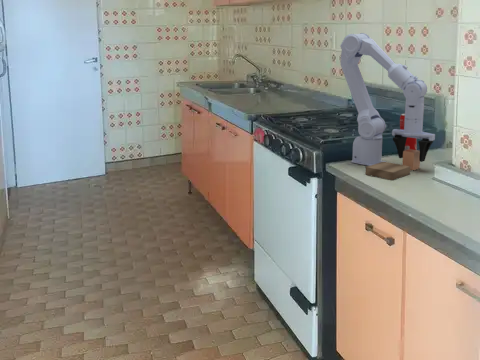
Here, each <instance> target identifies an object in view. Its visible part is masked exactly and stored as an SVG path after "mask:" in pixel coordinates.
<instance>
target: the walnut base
mask: <svg viewBox="0 0 480 360" xmlns="http://www.w3.org/2000/svg"><path fill="white" fill-rule="evenodd" d="M410 168H411V167H410V166H405V165H402V164H398V163H394V162H388V161H386V162H380V163H377V164H374V165H370V166H367V165H366V166H365V172H364V173H365V174H366V176H370V175H372V176H371V177H375V176H377V177H376V178H379V177H381V178H380V179H384V178H385V180H390V181H394V179H395V180H397V178H398V179H400V178H402V177H406V176H408V175H411V170H410Z"/></svg>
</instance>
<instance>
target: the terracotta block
mask: <svg viewBox="0 0 480 360" xmlns="http://www.w3.org/2000/svg"><path fill="white" fill-rule="evenodd" d="M419 156H420V150H419V149H418V150H412V149H408V150H405V151H403V158H402V163H401V165H405V166H410V167H411V168H410V171H412V170H414V171H416V169H417V170H419V169H421V167H420V165H421V162H420V161H419ZM418 168H419V169H418Z"/></svg>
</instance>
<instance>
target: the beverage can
mask: <svg viewBox="0 0 480 360" xmlns="http://www.w3.org/2000/svg"><path fill="white" fill-rule="evenodd" d="M404 123H405V112H404V113H400V117H399V129H401V130H404ZM417 140H418V138H410V137H407V140H406V144H405V150H408V149H412V150H417V149H418V146H417V145H418V144H417V142H418V141H417Z"/></svg>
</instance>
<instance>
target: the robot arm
mask: <svg viewBox="0 0 480 360" xmlns="http://www.w3.org/2000/svg"><path fill="white" fill-rule="evenodd" d="M376 42H377V41H375V40H374V39H373V38H372V37H370V36H369V34H367V33H364V32H361V33H349V34H347V35H346V36H345V37H344V38H343V40H342V42H341V44H340V45H339V46H340V49H341V53H340V62H339V63H340V68H341V70H342V72H343V75H344V78H345V82H346V83H347V86H348V90H349V91H350V95H351V97H352V100H353V102H354V106H355V108H356V111H357V113H358V115H357V118H356V121H357V125H358V126H357V130H358V134H359V136H356V137H355V138H354V140H353V143H352V158H351V159H352V160H351V161H350V162H351V163H352V164H359V165H362V166H366V167H367V166H370V165H374V164H377V163H380V162H387V161H386V160H382V152H383V133H384V132H385V130H386V128H387V127H386V125H387V124H386V122H385V119H384V118H382V117H381V115H380V113H379V111H378V110H377V109H376V108H375V107H374V105H373V102H372V99H371V96H370V95H369V92H368V89H367V86H366V84H365V83H366V82H365V81H364V78H363V76H362V72H361V70H360V67H359V63H360V61H361V58H362V57H363V56H370V57H371V58H372V59H373V60H374V61H375V62H376V63H378V64H379V65H380V66H381V67H383V69H385V70H386V72H387V76H388V79H390V80H391V81H392V82H393V83H394V84H395V85H396V86H397V87H398V88H399V89H400V90H402V94H403V96H404V98H405V106H404V108H405V109H404V113H405V123H404V130H401V129H400V128H394V129H392V131H391V136H393V137H392V141H393V143H394V145H395V147H396V150H397V154H398V158H399V159H403V151H405V144H406V140H407V137H410V138H417V140H418V139H419V140H418V141H417V142H418V146H419V147H418V148H419V149H418V150H419V151H420V156H419V161H420V163H423V162H425V161H426V157H427V154H428V152H429V150H430V148H431V146H432V145H433V143H434V141H436V140H435V139H436V134H435V133H431V132H425V131H423V130H424V129H423V127H424V126H423V125H424V111H425V95H427V92H428V86H427V84H426V83H425V81H424V80H422V79H419V77H418V76H417V75H414V74H413V73H412V72H411V71H410V70H409V69H408V66H407V65H406V64H402V63H395V62H394V61H393V59H392V58H391V57H390V56H389V55H388V54H387V53H386V52H385V51H384V50H383V49H382V47H381V46H379V45H378V43H376Z"/></svg>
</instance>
